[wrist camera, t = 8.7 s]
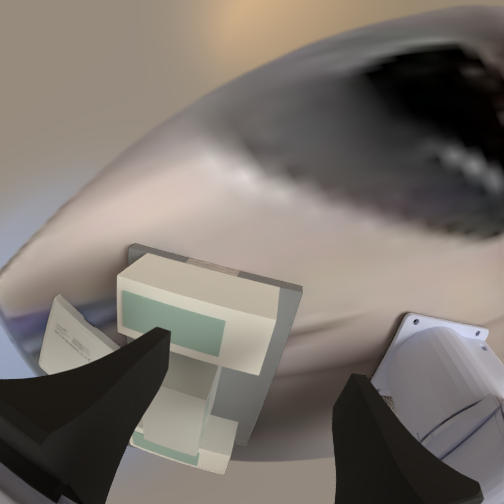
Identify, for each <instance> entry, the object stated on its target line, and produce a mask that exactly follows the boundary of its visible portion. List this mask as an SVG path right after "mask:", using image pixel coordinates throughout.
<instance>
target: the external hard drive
mask: <svg viewBox="0 0 504 504" xmlns="http://www.w3.org/2000/svg"><path fill="white" fill-rule="evenodd" d="M119 348H121V347H120V346H118V345H117V344H116V343H115V342H113V341H112V340H111V339H110V338H108V337H107V336H106V335H105V334H104V333H102V332H101V331H100V330H99V329H98V328H96V327H93V326H92V325H91V324H90V323H88V322H87V321H86V320H85V318H84V316H83V315H82V314H81V313H80V312H78V311H77V310H76V309H75V308H74V307H73V306H72V305H71V304H70V303H69V302H68V301H67V300H66V299H65V298H64V297H62V296H61V295H60V294H58V295H57V296H56V297H55V298H54V301H53V304H52V308H51V311H50V315H49V319H48V322H47V326H46V331H45V335H44V339H43V344H42V348H41V353H40V358H39V365H40V367H41V368H42V369H43V370H44V371H45V372H46V373H47V374H49V375H51V374H55V373H59V372H63V371H67V370H71V369H74V368H77V367H80V366H83V365H85V364H88V363H91V362H93V361H95V360H98V359H100V358H102V357H104V356H106V355H108V354H110V353H112V352H114V351H116V350H118V349H119Z"/></svg>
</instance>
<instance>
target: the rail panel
mask: <svg viewBox="0 0 504 504" xmlns="http://www.w3.org/2000/svg"><path fill="white" fill-rule="evenodd" d="M302 294H303V290H302V286H299V285H295V284H291V283H287V282H283V281H278V280H274V279H270V278H266V277H262V276H258V275H254V274H250V273H246V272H242V271H238V270H234V269H230V268H226V267H222V266H219V265H215V264H211V263H207V262H203V261H199V260H195V259H192V258H188V257H184V256H180V255H176V254H173V253H169V252H165V251H161V250H158V249H154V248H150V247H147V246H143V245H139V244H136V243H135V244H134V245H132V246H130V247H129V250H128V267H127V268H126V269H125V270H123V271H122V272H121V273H119V274H118V275H117V326H118V332H119V333H121V334H124V335H126V336H127V344H128V343H130V342H132V341H133V340H135V339H137V338H138V337H140V336H142V335H143V334H145V333H147V332H148V331H150V330H152V329H153V328H155V327H160V328H163V329H166V330H169V331H171V340H170V351H172V352H175V353H178V354H181V355H184V356H188V357H191V358H194V359H198V360H201V361H204V362H208V363H211V364H215V365H219V366H222V367H221V372H220V377H219V381H218V386H217V391H216V395H215V400H214V404H213V407H212V410H211V413H210V416H209V419H208V422H207V425H206V428H205V431H204V434H203V437H202V441H201V444H200V447H199V450H198V453H197V456H192V455H189V454H186V453H182V452H179V451H176V450H173V449H170V448H167V447H164V446H161V445H159V444H156V443H153V442H150V441H148V440H145V439H144V433H143V422H142V419H141V420H140V422H139V424H138V425H137V427H136V429H135V430H134V432H133V434H132V436H131V438H130V445H132V446H135V447H137V448H140V449H142V450H145V451H148V452H150V453H153V454H155V455H158V456H161V457H164V458H167V459H169V460H173V461H176V462H179V463H182V464H185V465H188V466H192V467H195V468H199V469H202V470H206V471H210V472H214V473H218V474H222V475H224V473H225V470H226V467H227V465H228V462H229V459H230V457H231V453H232V448H233V444H236V445H240V446H245V447H246V446H247V443H248V441H249V439H250V436H251V434H252V431H253V429H254V426H255V424H256V421H257V419H258V416H259V414H260V411H261V409H262V406H263V404H264V401H265V399H266V396H267V393H268V391H269V388H270V386H271V383H272V380H273V378H274V375H275V372H276V369H277V367H278V364H279V361H280V358H281V356H282V353H283V350H284V347H285V344H286V341H287V339H288V336H289V333H290V330H291V327H292V324H293V321H294V318H295V315H296V312H297V309H298V306H299V303H300V300H301V297H302Z"/></svg>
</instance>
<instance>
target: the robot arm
mask: <svg viewBox="0 0 504 504" xmlns="http://www.w3.org/2000/svg"><path fill="white" fill-rule="evenodd" d="M415 319H417V321H416V322H413V321H414V320H415ZM476 332H477V333H476ZM488 334H489V331H488V329H487V328H484V327H479V326H474V325H469V324H464V323H459V322H454V321H449V320H444V319H439V318H434V317H430V316H425V315H420V314H415V313H408V314H406V315H405V317H404V318H403V320H402V323H401V325H400V327H399V329H398V331H397V333H396V335H395V337H394V339H393V341H392V343H391V345H390V347H389V349H388V350H387V352H386V354H385V356H384V358H383V360H382V362H381V363H380V365H379V367H378V369H377V371H376V372H375V374H374V376H373V377H372V379H371V381H370V380H369V379H368V378H367V377H366V376H365V375H358V374H351V376H350V378H349V380H348V382H347V384H346V385H345V387H344V389H343V391H342V392H341V394H340V396H339V398H338V399H337V401H336V403H335V404H334V406H333V417H332V433H333V444H334V454H335V465H336V494H335V504H504V365H503V363H502V362H501V361H500V360H499V358H498V357H497V356H496V354H495V353H494V352H493V351H492V349H491V348H490V347H489V346H488V344H487V343H486V342H485V340H486V338H487V336H488ZM170 340H171V331H169V330H166V329H163V328H160V327H155V328H153V329H152V330H150V331H148V332H147V333H145V334H143V335H142V336H140V337H138V338H137V339H135V340H133V341H132V342H130V343H128V344H127V345H125V346H123V347H121V348H119V349H118V350H116V351H114V352H112V353H110V354H108V355H106V356H104V357H102V358H100V359H98V360H95V361H93V362H91V363H88V364H85V365H83V366H80V367H77V368H74V369H71V370H67V371H63V372H59V373H55V374H51V375H46V376H40V377H35V378H25V379H0V504H105V502H106V499H107V496H108V493H109V490H110V487H111V484H112V482H113V479H114V476H115V474H116V471H117V468H118V466H119V464H120V461H121V459H122V456H123V454H124V452H125V449H126V447H127V445H128V443H129V440H130V438H131V436H132V434H133V432H134V430H135V429H136V427H137V425H138V424H139V422H140V420H141V419H142V417H143V415H144V414H145V412H146V411H147V409H148V407H149V406H150V404H151V402H152V401H153V399H154V397H155V396H156V394H157V393H158V391H159V389H160V387H161V385H162V383H163V380H164V378H165V376H166V373H167V371H168V369H169V353H170ZM377 389H378V390H377ZM381 395H382V396H391V397H392V400H393V403H394V406H395V409H396V413H397V416H398V418H397V417H396V415H395V414H394V413H393V412H392V410H391V409H390V408H389V406H388V405H387V404H386V402H385V401H384V400H383V398H382V397H381Z"/></svg>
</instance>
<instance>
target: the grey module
mask: <svg viewBox="0 0 504 504" xmlns="http://www.w3.org/2000/svg"><path fill="white" fill-rule="evenodd" d="M221 367H222V366H219V365H215V364H211V363H208V362H204V361H201V360H198V359H194V358H191V357H188V356H184V355H181V354H178V353H175V352H172V351H170V353H169V369H168V371H167V373H166V376H165V378H164V380H163V383H162V385H161V387H160V389H159V391H158V393H157V394H156V396H155V397H154V399H153V401H152V402H151V404H150V406H149V407H148V409H147V411H146V412H145V414H144V415H143V417H142V422H143V433H144V439H145V440H148V441H150V442H153V443H156V444H159V445H161V446H164V447H167V448H170V449H173V450H176V451H179V452H182V453H186V454H189V455H192V456H197V453H198V450H199V447H200V444H201V441H202V437H203V434H204V431H205V428H206V425H207V422H208V419H209V416H210V413H211V410H212V407H213V404H214V400H215V395H216V391H217V386H218V381H219V377H220V372H221Z"/></svg>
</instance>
